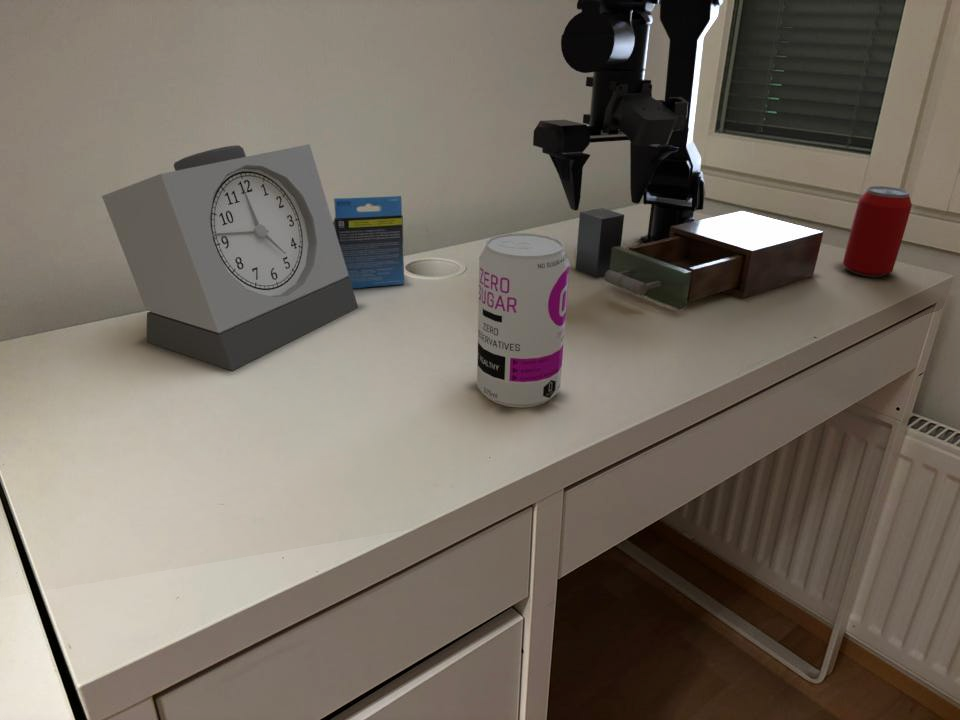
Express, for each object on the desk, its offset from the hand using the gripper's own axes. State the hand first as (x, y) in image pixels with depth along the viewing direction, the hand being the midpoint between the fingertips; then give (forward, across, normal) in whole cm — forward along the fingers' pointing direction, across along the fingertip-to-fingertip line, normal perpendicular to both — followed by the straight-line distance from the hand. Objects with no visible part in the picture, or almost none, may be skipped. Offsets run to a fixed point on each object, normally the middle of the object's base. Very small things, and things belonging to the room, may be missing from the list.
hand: (605, 206), depth 86 cm
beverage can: (+12, +44, -7) cm, 46 cm away
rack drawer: (+12, +11, -2) cm, 16 cm away
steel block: (+12, +7, +10) cm, 18 cm away
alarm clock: (+13, -42, +12) cm, 45 cm away
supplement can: (+13, -21, -16) cm, 30 cm away
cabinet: (+12, +26, +1) cm, 29 cm away
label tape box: (+13, -24, +18) cm, 33 cm away
